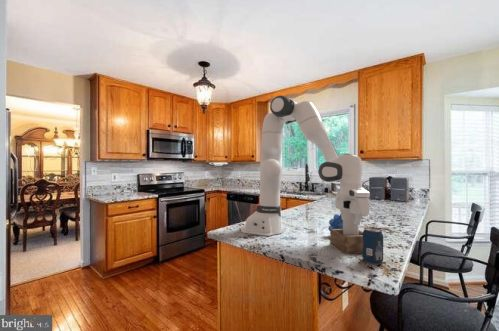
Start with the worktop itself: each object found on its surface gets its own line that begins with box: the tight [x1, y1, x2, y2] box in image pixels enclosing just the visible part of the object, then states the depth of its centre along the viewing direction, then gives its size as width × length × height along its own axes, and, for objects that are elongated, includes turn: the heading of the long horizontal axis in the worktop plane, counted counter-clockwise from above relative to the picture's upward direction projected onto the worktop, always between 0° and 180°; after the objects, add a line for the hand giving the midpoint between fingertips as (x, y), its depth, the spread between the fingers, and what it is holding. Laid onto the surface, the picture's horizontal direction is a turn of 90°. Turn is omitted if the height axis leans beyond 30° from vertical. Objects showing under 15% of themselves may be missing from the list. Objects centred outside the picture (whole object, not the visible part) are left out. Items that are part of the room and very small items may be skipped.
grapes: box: [327, 213, 343, 232], centre depth 120 cm, size 12×7×12 cm, turn 82°
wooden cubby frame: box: [329, 229, 363, 254], centre depth 102 cm, size 12×11×7 cm
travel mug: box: [343, 201, 360, 236], centre depth 102 cm, size 6×7×20 cm
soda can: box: [361, 227, 384, 265], centre depth 88 cm, size 7×7×12 cm
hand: (350, 222), depth 102 cm, fingers open, 8 cm apart
